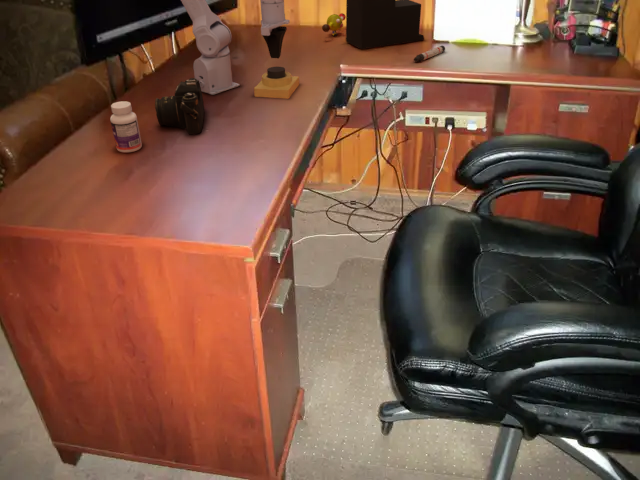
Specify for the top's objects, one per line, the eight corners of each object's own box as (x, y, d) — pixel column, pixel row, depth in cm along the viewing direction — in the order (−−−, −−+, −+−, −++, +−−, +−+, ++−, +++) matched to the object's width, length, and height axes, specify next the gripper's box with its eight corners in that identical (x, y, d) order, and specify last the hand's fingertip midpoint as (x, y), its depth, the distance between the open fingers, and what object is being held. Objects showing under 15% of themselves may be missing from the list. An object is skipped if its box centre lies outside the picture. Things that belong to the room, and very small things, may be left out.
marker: (439, 51, 189) (440, 44, 188) (445, 52, 188) (445, 45, 187) (410, 63, 180) (411, 56, 179) (416, 64, 179) (416, 57, 178)
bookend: (406, 33, 208) (410, -43, 195) (424, 40, 200) (430, -39, 187) (345, 42, 200) (345, -37, 187) (361, 50, 192) (362, -31, 179)
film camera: (150, 115, 148) (142, 74, 143) (200, 107, 153) (195, 67, 147) (166, 142, 135) (159, 98, 129) (221, 132, 139) (216, 89, 134)
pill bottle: (119, 143, 135) (110, 100, 130) (144, 142, 135) (136, 99, 130) (114, 153, 130) (104, 109, 125) (140, 152, 131) (131, 108, 125)
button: (282, 80, 158) (282, 72, 157) (265, 79, 159) (264, 71, 158) (287, 74, 162) (287, 66, 160) (270, 73, 162) (270, 66, 161)
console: (288, 98, 157) (287, 83, 155) (254, 96, 158) (253, 81, 156) (299, 84, 166) (298, 69, 164) (267, 82, 167) (266, 68, 165)
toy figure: (333, 42, 200) (333, 21, 196) (317, 41, 202) (317, 20, 198) (351, 29, 214) (351, 9, 210) (336, 28, 216) (336, 8, 212)
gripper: (279, 8, 143) (283, 66, 151) (295, -5, 155) (297, 50, 163) (250, 7, 145) (255, 65, 152) (268, -5, 157) (272, 49, 164)
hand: (275, 57), depth 157 cm, fingers closed
